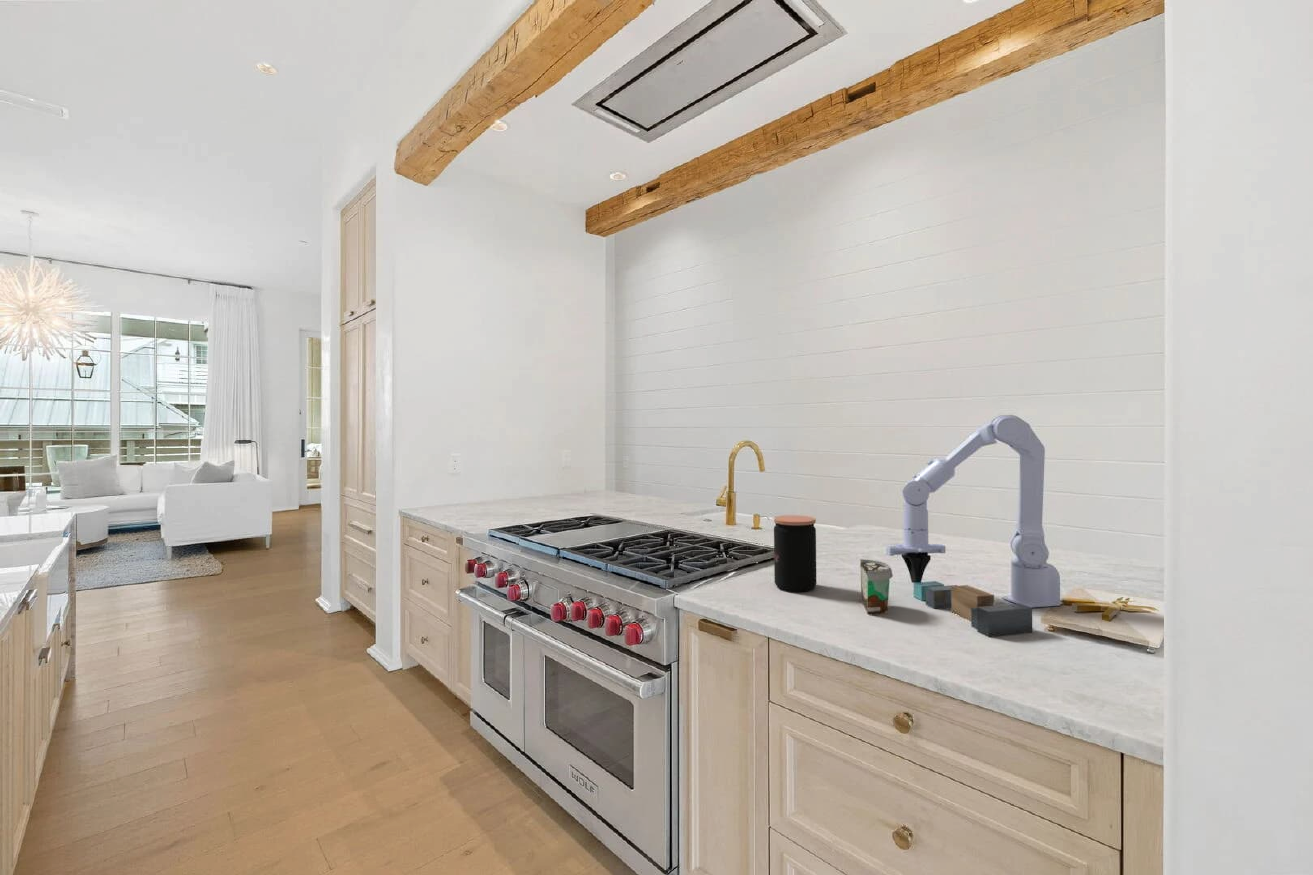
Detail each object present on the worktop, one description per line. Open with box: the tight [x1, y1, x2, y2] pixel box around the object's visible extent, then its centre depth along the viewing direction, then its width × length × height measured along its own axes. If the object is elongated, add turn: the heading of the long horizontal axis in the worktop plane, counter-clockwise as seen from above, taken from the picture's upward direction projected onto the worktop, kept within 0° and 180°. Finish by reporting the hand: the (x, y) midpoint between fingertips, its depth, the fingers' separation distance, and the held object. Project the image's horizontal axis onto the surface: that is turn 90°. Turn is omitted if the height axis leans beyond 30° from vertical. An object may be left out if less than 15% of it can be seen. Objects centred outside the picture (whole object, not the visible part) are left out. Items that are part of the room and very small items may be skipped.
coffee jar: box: [773, 514, 817, 593], centre depth 153 cm, size 11×11×18 cm
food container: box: [859, 559, 894, 615], centre depth 134 cm, size 12×6×10 cm, turn 168°
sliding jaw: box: [913, 580, 959, 609], centre depth 139 cm, size 8×9×4 cm
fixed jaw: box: [970, 603, 1033, 638], centre depth 119 cm, size 10×6×5 cm, turn 100°
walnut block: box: [950, 584, 995, 622], centre depth 127 cm, size 4×8×6 cm, turn 11°
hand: (916, 582), depth 147 cm, fingers closed
